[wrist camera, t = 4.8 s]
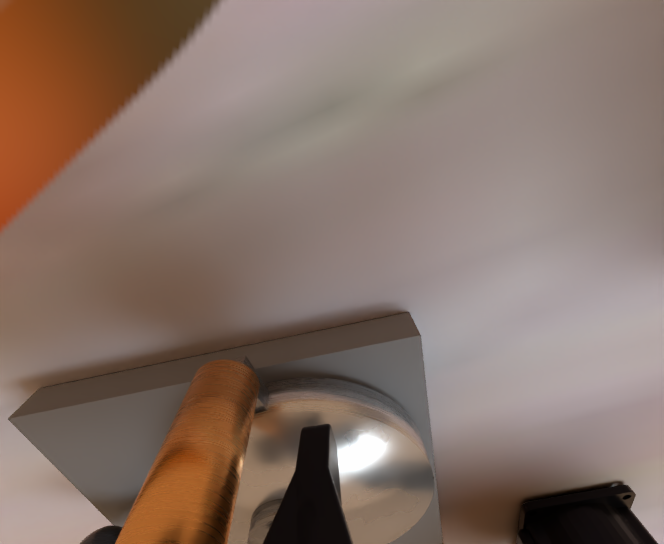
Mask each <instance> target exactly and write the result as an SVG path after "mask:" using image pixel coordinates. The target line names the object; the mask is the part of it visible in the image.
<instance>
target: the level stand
mask: <svg viewBox="0 0 664 544" xmlns="http://www.w3.org/2000/svg"><path fill="white" fill-rule="evenodd" d="M245 355H246V356H247V358H248V359H249V361H250V362H251V364H252V365H253V367H254V368H255V370H256V371H257V373H258V374H259V376H260V378H261V379H262V381H263V382H264V384H266V383H270V382H274V381H280V380H286V379H295V378H328V379H336V380H343V381H347V382H351V383H355V384H360V385H362V386H365V387H368V388H371V389H373V390H375V391H377V392H379V393H381V394H383V395H385V396H387V397H389V398H390V399H392V400H393V401H395V402H396V403H397V404H399V405H400V406H401V407H402V408H403V409H404V410H405V411H406V412H407V413H408V414H409V415H410V417H411V418H412V419H413V421H414V422H415V424H416V426H417V428H418V430H419V432H420V435H421V438H422V441H423V444H424V447H425V450H426V453H427V456H428V459H429V462H430V465H431V468H432V471H433V475H434V492H433V497H432V500H431V502H430V505H429V507H428V508H427V510H426V512H425V513H424V515H423V516H422V517H421V518H420V520H419V521H418V522H417V523H416V524H415V525H414V526H413V527H412V528H411V529H409V530H408V531H407V532H406V533H404V534H403V535H401V536H400V537H399V538H397V539H395V540H394V541H392V542H390V543H388V544H443V539H442V530H441V520H440V511H439V502H438V492H437V483H436V474H435V464H434V455H433V446H432V437H431V427H430V418H429V409H428V399H427V390H426V381H425V371H424V362H423V353H422V343H421V335H420V333H419V331H418V329H417V327H416V325H415V323H414V321H413V319H412V317H411V315H410V313H409V312H407V313H402V314H398V315H393V316H388V317H383V318H378V319H373V320H369V321H364V322H359V323H354V324H349V325H344V326H340V327H335V328H330V329H325V330H320V331H315V332H311V333H306V334H301V335H296V336H291V337H286V338H282V339H277V340H272V341H267V342H262V343H257V344H253V345H248V346H243V347H238V348H233V349H228V350H224V351H219V352H214V353H209V354H204V355H199V356H195V357H190V358H185V359H180V360H175V361H170V362H166V363H161V364H156V365H151V366H146V367H141V368H137V369H132V370H127V371H122V372H117V373H112V374H108V375H103V376H98V377H93V378H88V379H83V380H79V381H74V382H69V383H64V384H59V385H54V386H50V387H45V388H40V389H38V390H37V391H36V392H35V393H34V394H33V395H32V396H31V397H30V398H29V399H28V400H27V401H26V402H25V403H24V404H23V405H22V406H21V407H20V408H19V409H18V410H16V411H15V412H14V413H13V414H12V415H11V416H10V417H9V418H8V420H9V421H10V422H11V423H12V424H13V425H14V426H15V427H16V428H17V429H18V430H19V431H20V432H21V433H22V434H23V435H24V436H25V437H26V438H27V439H28V440H29V441H30V442H31V443H32V444H33V445H34V446H35V447H36V448H37V449H38V450H39V451H40V452H41V453H42V454H43V455H44V456H45V457H46V458H47V459H48V460H49V461H50V462H51V463H52V464H53V465H54V466H55V467H56V468H57V469H58V470H59V471H60V472H61V473H62V474H63V475H64V476H65V477H66V478H67V479H68V480H69V481H70V482H71V483H72V484H73V485H74V486H75V487H76V488H77V489H78V490H79V491H80V492H81V493H82V494H83V495H84V496H85V497H86V498H87V499H88V500H89V501H90V502H91V503H92V504H93V505H94V506H95V507H96V508H97V509H98V510H99V511H100V512H101V513H102V514H103V515H104V516H105V517H106V518H107V519H108V520H109V521H110V522H111V523H112V524H113V525H114V526H121V527H123V526H124V523H125V521H126V519H127V517H128V515H129V513H130V511H131V509H132V507H133V504H134V502H135V500H136V498H137V496H138V494H139V492H140V490H141V488H142V485H143V483H144V481H145V479H146V477H147V475H148V473H149V471H150V469H151V466H152V464H153V462H154V460H155V458H156V456H157V454H158V452H159V450H160V448H161V445H162V443H163V441H164V439H165V437H166V435H167V433H168V431H169V429H170V426H171V424H172V422H173V420H174V418H175V416H176V414H177V412H178V410H179V407H180V405H181V403H182V401H183V399H184V397H185V395H186V393H187V391H188V388H189V386H190V384H191V382H192V380H193V378H194V376H195V374H196V372H197V370H198V369H199V368H200V367H201V366H203V365H204V364H206V363H208V362H211V361H214V360H222V359H225V360H234V359H236V358H239V357H242V356H245Z"/></svg>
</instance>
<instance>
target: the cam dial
mask: <svg viewBox="0 0 664 544" xmlns="http://www.w3.org/2000/svg"><path fill="white" fill-rule="evenodd" d="M321 424H330V425H331V427H332V431H333V434H334V437H335V441H336V445H337V453H338V465H339V477H340V489H341V501H342V508H343V512H344V515H345V518H346V521H347V524H348V528H349V531H350V534H351V537H352V541H353V544H388V543H390V542H392V541H394V540H395V539H397V538H399V537H400V536H401V535H403V534H404V533H406V532H407V531H408V530H409V529H411V528H412V527H413V526H414V525H415V524H416V523H417V522H418V521H419V520H420V518H421V517H422V516H423V515H424V513H425V512H426V510H427V508H428V507H429V505H430V502H431V500H432V497H433V492H434V475H433V471H432V468H431V465H430V462H429V459H428V456H427V453H426V450H425V447H424V444H423V441H422V438H421V435H420V432H419V430H418V428H417V426H416V424H415V422H414V421H413V419H412V418H411V417H410V415H409V414H408V413H407V412H406V411H405V410H404V409H403V408H402V407H401V406H400V405H399V404H397V403H396V402H395V401H393V400H392V399H390V398H389V397H387V396H385V395H383V394H381V393H379V392H377V391H375V390H373V389H371V388H368V387H365V386H362V385H360V384H355V383H351V382H347V381H343V380H336V379H328V378H295V379H286V380H280V381H274V382H270V383H266V384H264V382H263V381H262V379H261V378H260V376H259V374H258V373H257V371H256V370H255V368H254V367H253V365H252V364H251V362H250V361H249V359H248V358H247V356H246V355H245V356H242V357H239V358H236V359H234V360H225V359H222V360H214V361H211V362H208V363H206V364H204V365H203V366H201V367H200V368H199V369H198V370H197V372H196V374H195V376H194V378H193V380H192V382H191V384H190V386H189V388H188V391H187V393H186V395H185V397H184V399H183V401H182V403H181V405H180V407H179V410H178V412H177V414H176V416H175V418H174V420H173V422H172V424H171V426H170V429H169V431H168V433H167V435H166V437H165V439H164V441H163V443H162V445H161V448H160V450H159V452H158V454H157V456H156V458H155V460H154V462H153V464H152V466H151V469H150V471H149V473H148V475H147V477H146V479H145V481H144V483H143V485H142V488H141V490H140V492H139V494H138V496H137V498H136V500H135V502H134V504H133V507H132V509H131V511H130V513H129V515H128V517H127V519H126V521H125V523H124V526H123V527H121V526H106V527H103V528H100V529H98V530H96V531H94V532H93V533H91V534H90V535H88V536H87V537H86V538H85V539H84V540H83V541H82V542H81V543H80V544H263V542H264V539H265V537H266V535H267V533H268V530H269V528H270V526H271V524H272V521H273V519H274V517H275V515H276V512H277V510H278V508H279V506H280V503H281V501H282V499H283V497H284V494H285V492H286V490H287V488H288V485H289V483H290V481H291V479H292V476H293V474H294V472H295V468H296V461H297V454H298V447H299V441H300V434H301V430H302V428H303V427H308V426H317V425H321Z"/></svg>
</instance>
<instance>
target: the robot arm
mask: <svg viewBox="0 0 664 544" xmlns="http://www.w3.org/2000/svg"><path fill="white" fill-rule="evenodd" d="M635 495H636V494H635V493H634V492H633V490H632V489H631V488H630V487H629V486H628V485H621V486H615V487H609V488H603V489H598V490H592V491H586V492H581V493H575V494H569V495H563V496H558V497H552V498H546V499H541V500H535V501H529V502H526V503H524V504H523V505H522V506H521V510H520V519H519V529H518V534H517V543H516V544H658V543H657V542H656V541H655V539H654V538H653V537H652V536H651V534H650V533H649V532H648V531H647V529H646V528H645V527H644V526H643V525H642V523H641V522H640V521H639V520H638V518H637V517H636V516H635V515H634V514H633V512H632V511H631V510H630V508H631V506H632V503H633V501H634V498H635ZM263 544H353V541H352V537H351V534H350V531H349V528H348V524H347V521H346V518H345V515H344V512H343V508H342V501H341V489H340V477H339V465H338V453H337V445H336V441H335V437H334V434H333V431H332V427H331V425H330V424H321V425H317V426H308V427H303V428H302V430H301V434H300V441H299V447H298V454H297V461H296V468H295V472H294V474H293V476H292V479H291V481H290V483H289V485H288V488H287V490H286V492H285V494H284V497H283V499H282V501H281V503H280V506H279V508H278V510H277V512H276V515H275V517H274V519H273V521H272V524H271V526H270V528H269V530H268V533H267V535H266V537H265V539H264V542H263Z"/></svg>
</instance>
